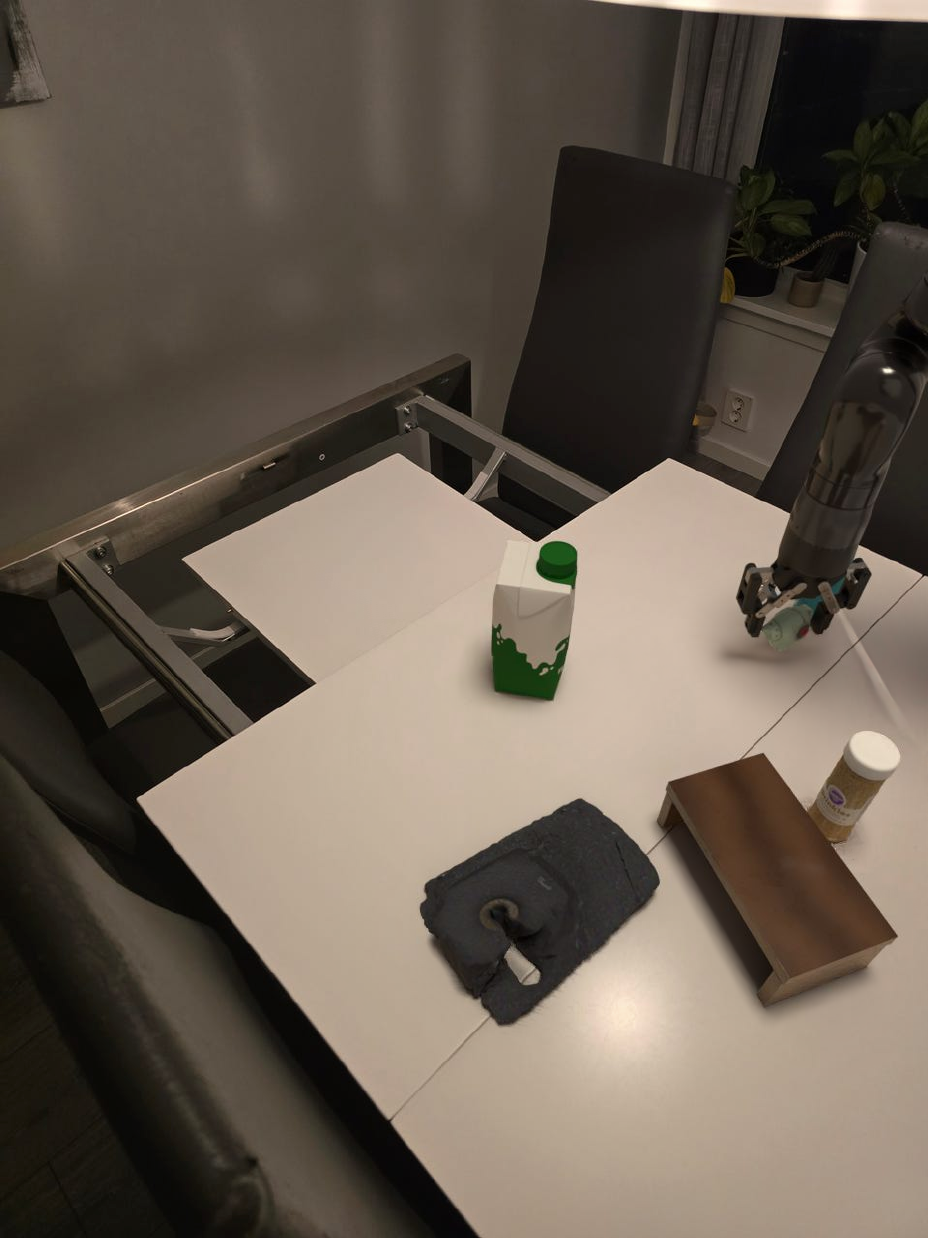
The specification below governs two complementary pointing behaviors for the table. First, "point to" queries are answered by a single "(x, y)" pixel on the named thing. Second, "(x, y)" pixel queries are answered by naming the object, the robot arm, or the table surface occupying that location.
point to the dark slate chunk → (537, 902)
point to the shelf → (779, 874)
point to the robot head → (788, 626)
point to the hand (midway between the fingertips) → (784, 631)
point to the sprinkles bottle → (854, 783)
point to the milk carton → (533, 617)
